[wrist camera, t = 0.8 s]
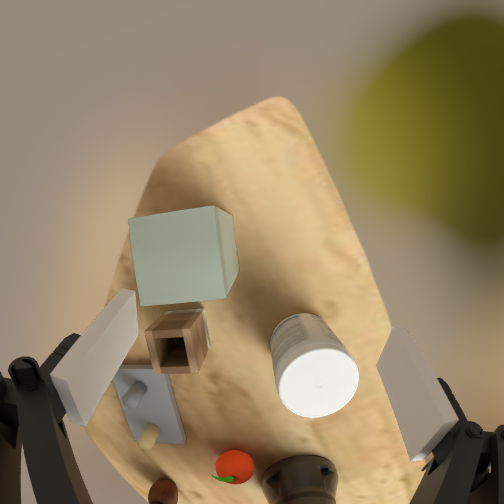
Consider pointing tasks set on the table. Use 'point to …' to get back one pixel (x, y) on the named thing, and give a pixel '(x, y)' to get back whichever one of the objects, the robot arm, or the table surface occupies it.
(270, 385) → the table surface
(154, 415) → the pin board
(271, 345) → the supplement tub
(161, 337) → the sleeve
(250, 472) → the clementine
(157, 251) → the tower
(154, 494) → the wooden figurine
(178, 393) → the table surface
